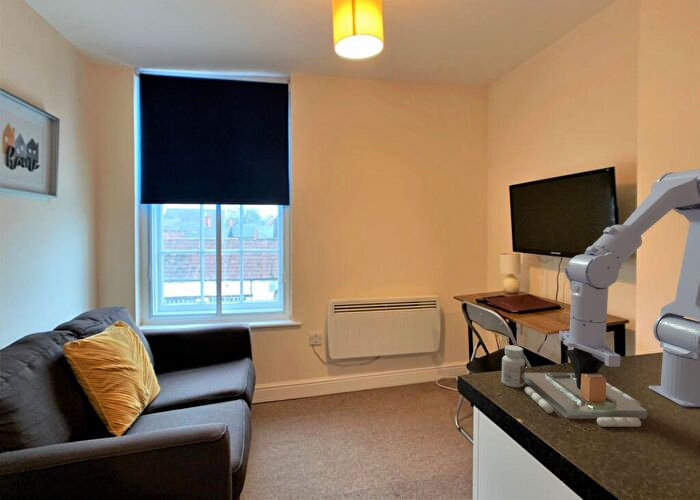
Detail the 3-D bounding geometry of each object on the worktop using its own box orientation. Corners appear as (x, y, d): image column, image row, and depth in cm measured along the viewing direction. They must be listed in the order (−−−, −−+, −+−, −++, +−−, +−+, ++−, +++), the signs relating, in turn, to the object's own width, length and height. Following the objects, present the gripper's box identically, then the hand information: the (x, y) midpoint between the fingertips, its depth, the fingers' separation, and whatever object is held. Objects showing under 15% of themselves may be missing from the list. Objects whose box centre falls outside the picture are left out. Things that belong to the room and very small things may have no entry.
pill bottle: (526, 389, 74) (528, 352, 74) (503, 387, 75) (505, 350, 74) (521, 380, 78) (522, 345, 78) (499, 378, 79) (500, 343, 79)
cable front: (530, 392, 73) (530, 385, 73) (553, 413, 64) (553, 405, 64) (523, 392, 73) (523, 385, 73) (545, 413, 64) (545, 405, 64)
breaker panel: (586, 379, 79) (586, 370, 79) (646, 419, 63) (647, 407, 63) (522, 379, 79) (522, 370, 79) (566, 418, 63) (567, 406, 63)
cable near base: (603, 385, 76) (603, 379, 76) (640, 408, 66) (640, 401, 66) (596, 385, 76) (596, 379, 76) (632, 408, 66) (633, 401, 66)
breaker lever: (596, 395, 68) (597, 372, 67) (605, 401, 65) (606, 377, 65) (580, 395, 68) (581, 372, 67) (588, 401, 65) (590, 377, 65)
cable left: (634, 423, 61) (634, 415, 61) (640, 428, 60) (641, 420, 60) (594, 423, 61) (595, 415, 61) (600, 428, 60) (600, 420, 60)
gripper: (545, 309, 75) (542, 373, 76) (592, 329, 61) (588, 408, 62) (579, 309, 75) (576, 373, 76) (634, 330, 61) (629, 408, 62)
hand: (584, 389), depth 69 cm, fingers closed
